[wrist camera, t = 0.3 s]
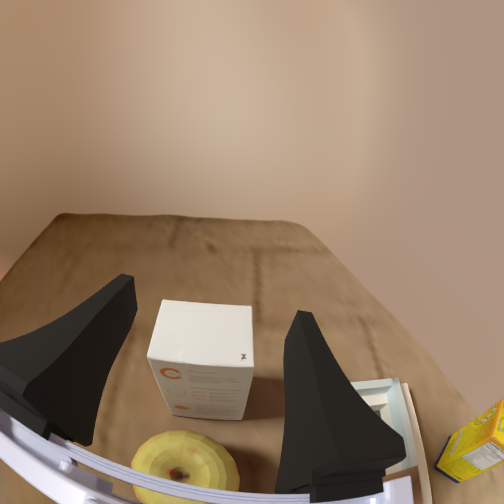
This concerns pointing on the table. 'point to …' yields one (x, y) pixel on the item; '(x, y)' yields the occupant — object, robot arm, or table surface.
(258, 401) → the table surface
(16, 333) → the table surface
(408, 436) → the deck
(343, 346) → the table surface
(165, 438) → the apple
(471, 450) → the supplement box
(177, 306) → the small box
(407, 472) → the block
